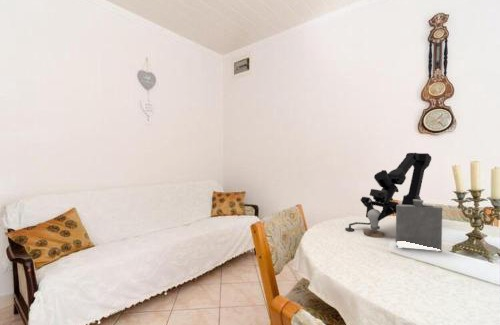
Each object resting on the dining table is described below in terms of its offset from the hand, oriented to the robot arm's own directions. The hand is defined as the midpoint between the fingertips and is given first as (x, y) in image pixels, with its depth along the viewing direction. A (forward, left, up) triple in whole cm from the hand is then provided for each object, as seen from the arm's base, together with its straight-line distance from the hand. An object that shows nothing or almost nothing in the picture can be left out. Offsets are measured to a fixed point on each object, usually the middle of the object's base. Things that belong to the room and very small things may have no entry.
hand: (372, 218), depth 119 cm
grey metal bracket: (+6, -6, -8) cm, 11 cm away
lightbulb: (-1, -1, -7) cm, 7 cm away
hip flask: (-19, +6, -8) cm, 21 cm away
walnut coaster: (0, -1, -8) cm, 8 cm away
